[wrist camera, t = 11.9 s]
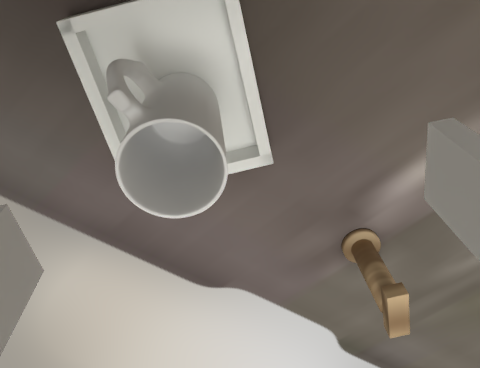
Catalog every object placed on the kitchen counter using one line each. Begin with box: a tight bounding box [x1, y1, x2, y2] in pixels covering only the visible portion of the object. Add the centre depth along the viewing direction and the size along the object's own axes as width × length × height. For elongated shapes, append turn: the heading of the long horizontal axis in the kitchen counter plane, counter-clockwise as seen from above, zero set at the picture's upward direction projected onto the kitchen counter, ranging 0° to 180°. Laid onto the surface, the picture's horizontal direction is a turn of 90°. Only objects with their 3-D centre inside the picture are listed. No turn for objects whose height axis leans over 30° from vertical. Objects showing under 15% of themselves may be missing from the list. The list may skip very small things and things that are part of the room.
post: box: [342, 229, 410, 338], centre depth 40 cm, size 5×4×10 cm
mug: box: [106, 59, 228, 218], centre depth 29 cm, size 10×7×12 cm, turn 34°
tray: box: [56, 0, 273, 174], centre depth 34 cm, size 15×13×3 cm
